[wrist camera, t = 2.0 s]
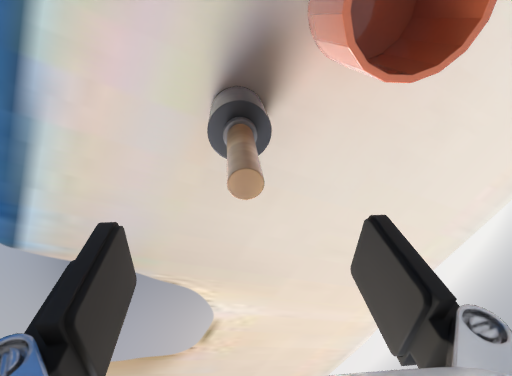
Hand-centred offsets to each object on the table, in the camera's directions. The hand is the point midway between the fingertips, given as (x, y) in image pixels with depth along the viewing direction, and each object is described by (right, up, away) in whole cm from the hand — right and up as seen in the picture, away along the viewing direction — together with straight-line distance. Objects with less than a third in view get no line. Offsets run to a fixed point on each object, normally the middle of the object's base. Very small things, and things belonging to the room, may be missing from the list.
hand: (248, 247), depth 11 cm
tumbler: (+9, +17, +11) cm, 22 cm away
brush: (-1, +9, +15) cm, 18 cm away
